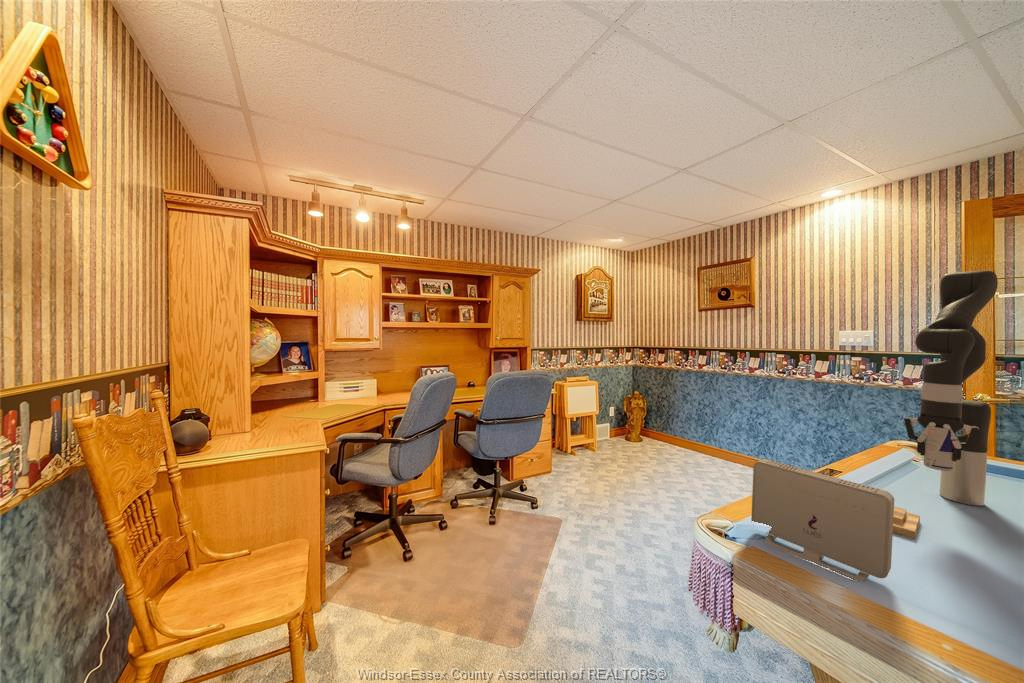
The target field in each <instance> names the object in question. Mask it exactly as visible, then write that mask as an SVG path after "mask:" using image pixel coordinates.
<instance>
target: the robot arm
mask: <svg viewBox="0 0 1024 683" xmlns="http://www.w3.org/2000/svg"><path fill="white" fill-rule="evenodd" d="M998 282H999V280H998V275H997V274H996V272H995V271H992V270H988V269H987V270H971V271H970V270H969V271H961V272H960V271H958V272H957V271H956V272H950V273H949V272H948V273H945V274H943V275H942V277H941V279H940V283H939V295H940V296H939V297H940V311H939V312H938V314H937V316H936V317H935V320H934V321H932V322H931V323H929V324H928V325H926V326H925V327H924V328H923V329H921V330H920V331H919V333H918V334H917V335H916V337H915V346H916V349H917V350H919V351H921V352H922V353H925V354H938V355H939V359H940V361H930V362H926V363H925V364H924V367H923V376H922V378H923V381H922V386H921V393H920V410H919V411H920V413H919V416H918V417H908V416H906V417H905V418H904V419H903V421H904V426H905V429H906V433H907V438H909V439H912V440H914V441H916V443H917V445H916V447H917V448H916V451H917V453H919V454H920V456H923V457H924V447H925V438H926V436H928V428H929V427H931V426H932V427H938V428H946V429H948V430H950V431H951V440H952V441H953V442H952V443H953V445H954V448H953V470H951V471H941V470H940V479H939V480H940V482H939V495H940V496H941V497H943V498H945V499H947V500H950V501H953V502H957V503H959V504H965V505H970V506H977V507H979V506H980V507H981V506H984V505H985V498H986V483H987V482H986V481H987V462H988V441H989V430H990V424H991V419H992V418H991V417H992V410H991V409H992V408H991V406H990V405H989V403H987V402H985V401H980V400H979V401H978V400H971V399H970V400H968V399H964V398H963V397H964V396H963V395H964V392H963V383H964V382H965V381H966V380H967V379H968V378H970V377H971V376H972V375H973V374H974V373H976V372H977V371H978V370H979V369H981V367H982V366H983V365H984V364H985V362H986V355H987V354H986V353H987V342H986V339H985V338H984V336H983V335H982V334H981V333H980V332H979V331H978V330H977V329H976V328H975V327H974V326H973V323H974V321H975V319H976V317H977V315H978V314H979V313H980V312H981V311H982V310H983V308H985V307H986V306H987V304H988V303H989V302H990V301H991V300H993V298H994V296H995V295H996V292H997V290H998ZM916 423H919V424H920V425H921V426H922V427H923V430H922V432H921V433H920V435H917V434H916V433H915V430H914V426H915V425H916ZM961 429H965V433H964V434H959V435H958V434H956V433H957V432H959V431H960V430H961ZM954 433H955V434H954Z"/></svg>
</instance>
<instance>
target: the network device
mask: <svg viewBox="0 0 1024 683" xmlns="http://www.w3.org/2000/svg"><path fill="white" fill-rule="evenodd" d="M752 468H753V469H752V495H751V497H752V498H751V517H750V518H751V521H754V522H758V523H763V524H766V525H769V526H771V527H772V528H771V530H770V531H769V533H767V535H768V536H767V535H766V536H765V542H766V543H767V544H768V545H769V546H771V547H772V548H775V549H776V550H780V551H782V552H784V553H787V554H788V553H789V555H790V556H793V555H794V556H793V557H795V556H797V557H796V558H798V557H799V558H798V559H800V558H802V559H805V560H808V561H811V562H814V563H816V564H818V565H820V566H823V567H825V568H829V569H830V570H832V571H835V572H837V573H839V574H841V575H844V576H846V577H849V578H851V579H853V580H852V581H854V580H857V581H856V582H865V581H866V579H867V578H868V576H872V577H875V578H876V579H885V578H887V577H888V575H889V573H890V572H891V569H892V556H893V555H892V552H893V551H892V550H893V537H894V536H893V535H894V533H893V517H894V507H895V498H894V496H893V495H892V493H891V492H890V491H887V490H885V489H880V488H878V487H873V486H869V485H865V484H863V483H862V484H861V483H858V482H854V481H851V480H847V479H843V478H838V477H835V476H831V475H827V474H823V473H820V472H815V471H813V470H812V471H811V470H808V469H804V468H801V467H797V466H793V465H788V464H786V463H782V462H778V461H774V460H770V459H767V458H765V459H764V458H762V459H760V460H758V461H756V462H755V463H754V464H753V467H752ZM776 538H778V539H781V540H782V541H785V542H788V543H791V544H793V545H796V546H798V547H799V548H800V547H801V548H802V549H803V552H802V553H801V552H796V551H793V550H792V549H789V548H786V547H784V546H783V545H780V544H778V543H776V542H773V540H775V539H776ZM822 556H823V557H825V558H827V559H830V560H833V561H835V562H837V563H840V564H843V565H845V566H847V567H850V568H852V569H855V570H857V571H859V572H858V573H857V575H852V574H849V573H847V572H844V571H841V570H839V569H836V568H834V567H832V566H830V565H827V564H825V563H823V562H821V559H822V558H823V557H822ZM821 557H822V558H821ZM802 559H801V560H802ZM805 560H804V561H805Z"/></svg>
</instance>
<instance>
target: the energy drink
mask: <svg viewBox="0 0 1024 683" xmlns="http://www.w3.org/2000/svg"><path fill="white" fill-rule="evenodd" d="M954 434H956V433H954ZM924 442H925V447H924V456H923V465H924V466H925V467H926V468H929V469H931V470H932V469H933V470H937V471H940V472H941V471H951V470H953V448H954V445H953V443H952V442H953V441H952V440H951V431H950V430H948V429H946V428H938V427H932V426H931V427H929V428H928V436H926V438H925V440H924Z"/></svg>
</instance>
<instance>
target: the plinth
mask: <svg viewBox="0 0 1024 683" xmlns="http://www.w3.org/2000/svg"><path fill="white" fill-rule="evenodd" d="M920 518H921V516H920V515H919V514H914V513H911V512H908V511H907V509H905V508H901V507H897V506H894V517H893V534H897V535H899V536H902V537H903V536H904V537H907V538H910V539H912V540H915V539H916V536H917V532H918V530H919V526H920V522H921V520H920Z"/></svg>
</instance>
